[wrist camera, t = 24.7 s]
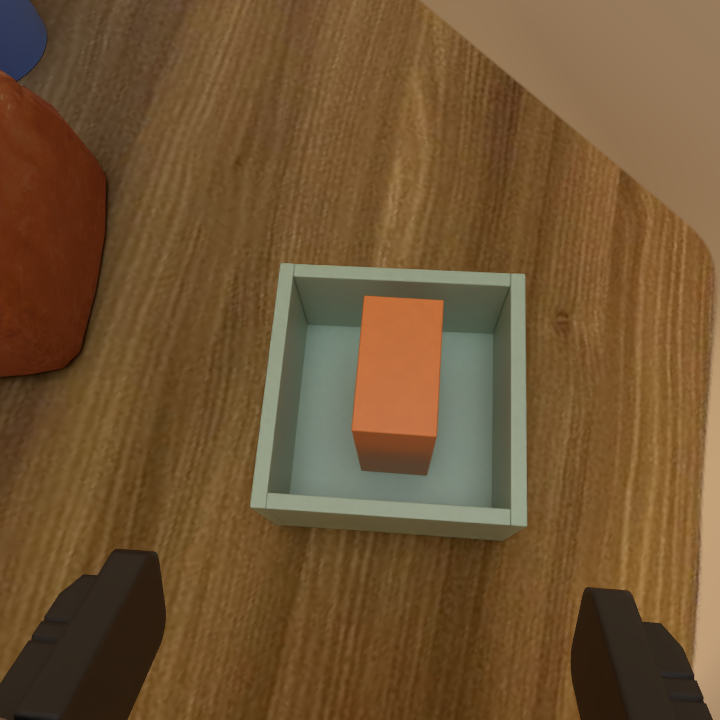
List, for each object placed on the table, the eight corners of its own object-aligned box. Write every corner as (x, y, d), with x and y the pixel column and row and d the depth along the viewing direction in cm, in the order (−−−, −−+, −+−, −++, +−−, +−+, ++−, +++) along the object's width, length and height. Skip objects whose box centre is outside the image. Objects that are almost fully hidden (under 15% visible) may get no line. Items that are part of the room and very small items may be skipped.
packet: (433, 366, 43) (444, 299, 34) (427, 476, 41) (437, 437, 32) (370, 362, 44) (363, 294, 34) (360, 470, 41) (350, 430, 32)
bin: (504, 326, 45) (525, 273, 38) (503, 540, 40) (527, 526, 33) (298, 316, 46) (280, 262, 38) (274, 524, 41) (249, 507, 34)
